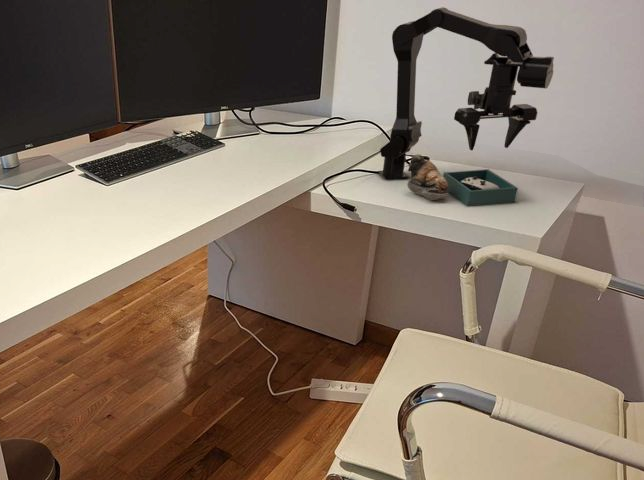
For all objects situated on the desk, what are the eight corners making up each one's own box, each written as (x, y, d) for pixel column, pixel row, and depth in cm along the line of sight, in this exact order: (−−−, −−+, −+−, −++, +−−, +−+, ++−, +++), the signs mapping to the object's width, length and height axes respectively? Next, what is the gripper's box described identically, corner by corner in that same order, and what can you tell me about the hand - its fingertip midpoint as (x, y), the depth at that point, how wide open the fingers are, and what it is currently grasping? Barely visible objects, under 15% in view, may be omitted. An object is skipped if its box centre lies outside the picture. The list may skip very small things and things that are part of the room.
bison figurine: (452, 199, 172) (459, 161, 167) (434, 205, 169) (441, 166, 164) (415, 187, 181) (420, 150, 175) (397, 193, 178) (402, 156, 172)
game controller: (502, 189, 172) (495, 177, 168) (489, 207, 172) (482, 194, 168) (471, 180, 179) (463, 167, 175) (459, 196, 180) (451, 184, 176)
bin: (441, 186, 181) (443, 172, 179) (485, 182, 182) (488, 169, 179) (467, 206, 168) (470, 191, 166) (514, 202, 169) (518, 187, 167)
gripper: (521, 76, 169) (508, 138, 177) (450, 80, 168) (440, 142, 177) (545, 84, 160) (530, 149, 168) (470, 89, 159) (458, 154, 167)
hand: (488, 148), depth 170 cm, fingers open, 9 cm apart
